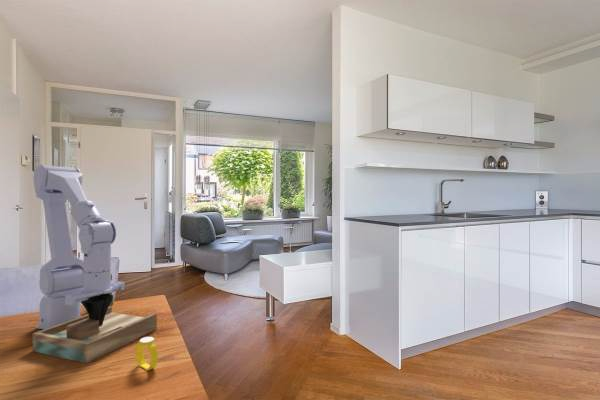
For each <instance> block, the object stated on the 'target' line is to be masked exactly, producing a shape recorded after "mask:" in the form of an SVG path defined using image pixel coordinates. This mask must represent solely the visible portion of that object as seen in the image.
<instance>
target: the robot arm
mask: <svg viewBox="0 0 600 400" xmlns="http://www.w3.org/2000/svg"><path fill="white" fill-rule="evenodd" d="M32 180H33V185H34V192H35V196H36V198H38V199H39V200H42V203H43V209H44V216H45V223H46V229H47V236H48V245H49V251H50V259H49V260H48V262H46V263H45V264H43V266H42V267H41V268H40V270H39V289H40V291H41V293H42V294H43V296H42V298H41V299H40V302H39V306H38V307H39V308H38V309H39V312H38V313H39V324H38V325H36V326H35V328H36V329H40V330H44V329H47V328H50V327H53V326H55V325H58V324H61V323H64V322H67V321H70V320H73V319H75V318H78V317H81V305H82V306H83V307H84V309H85V310H86V312H87V314H88V315H89V317H90V319H93V320H99V327H100V326H102V325H103V321H104V318H105V314H106V311H107V309H108V307H109V305H110V303H111V301H112V300H113V301H114V295H113V294H112V295H109V293H111V292H112V293H113V292H117V291H122V290H125V286H126V285H125V284H126V282H125V281H120V280H119V281H116V282H112V280H111V274H112V268H111V267H112V246H111V245H112V244H113V243H114V242H115V240H116V237H117V229H116V226H115V224H114V222H113V221H111V220H109V219H107V218H104V216H103V215H102V213H101V212H100V210H99V209H98V206H97V205H96V204H95V202H94V201H91V200H88V199H87V196H86V194H85V191H84V189H83V187H82V183H83V173H82V171H81V169H80V168H78V167H75V166H74V167H71V166H70V167H68V166H56V165H45V164H39V165H38V166H36V167H35V170H34V173H33V179H32ZM67 201H68V202H69V203H70V206H71V209H70V215H71V217H72V218H73V220H74V221H75V223H76V224H75V225H77V227H78V230H79V231H78V240H79V243H80V251H81V253H82V254H83V260H82V259H81V258H80V257H79V258H78V257H77V256H75V255H74V251H73V246H72V239H71V233H70V226H69V225H70V224H69V220H68V219H69V218H68V213H67V206H66V205H67V204H66V203H67Z"/></svg>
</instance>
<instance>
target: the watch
mask: <svg viewBox="0 0 600 400" xmlns="http://www.w3.org/2000/svg"><path fill="white" fill-rule="evenodd" d="M145 346H146V347H147V349H148V351H149V354H150V363H147V362H146V359H145V357H144V352H143V351H144V347H145ZM158 354H159V353H158V348H157V345H156V344H155V338H154V337H153V336H144V337H142V338H140V339H139V341H138V343H137V344H136V346H135V356H136V357H135V358H136V361H137V362H136V363H138V366H139V367H140V368H142V369H144V370H146V371H147V372H148V371H150V370H153V369H154V368H155V367H156V366H157V365H158V362H159V361H158V360H159V357H158Z"/></svg>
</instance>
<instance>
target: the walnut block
mask: <svg viewBox="0 0 600 400" xmlns="http://www.w3.org/2000/svg"><path fill="white" fill-rule="evenodd" d="M98 333H99V320H93V319H84V320H81V321H78V322H76V323H73V324H70V325H67V338H71V339H76V340H83V339H86V338H88V337H90V336H93V335H95V334H98Z"/></svg>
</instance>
